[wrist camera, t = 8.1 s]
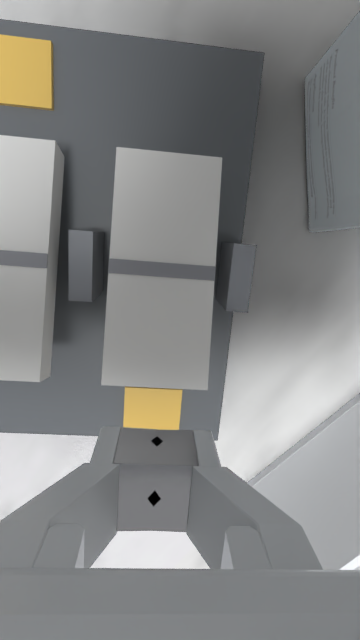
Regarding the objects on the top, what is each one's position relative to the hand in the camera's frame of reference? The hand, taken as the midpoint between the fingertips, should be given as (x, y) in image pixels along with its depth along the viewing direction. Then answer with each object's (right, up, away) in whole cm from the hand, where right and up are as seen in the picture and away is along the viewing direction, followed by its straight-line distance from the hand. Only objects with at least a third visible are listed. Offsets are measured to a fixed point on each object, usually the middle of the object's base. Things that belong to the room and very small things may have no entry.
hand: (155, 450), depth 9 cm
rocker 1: (-7, +6, +5) cm, 11 cm away
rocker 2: (0, +6, +6) cm, 8 cm away
